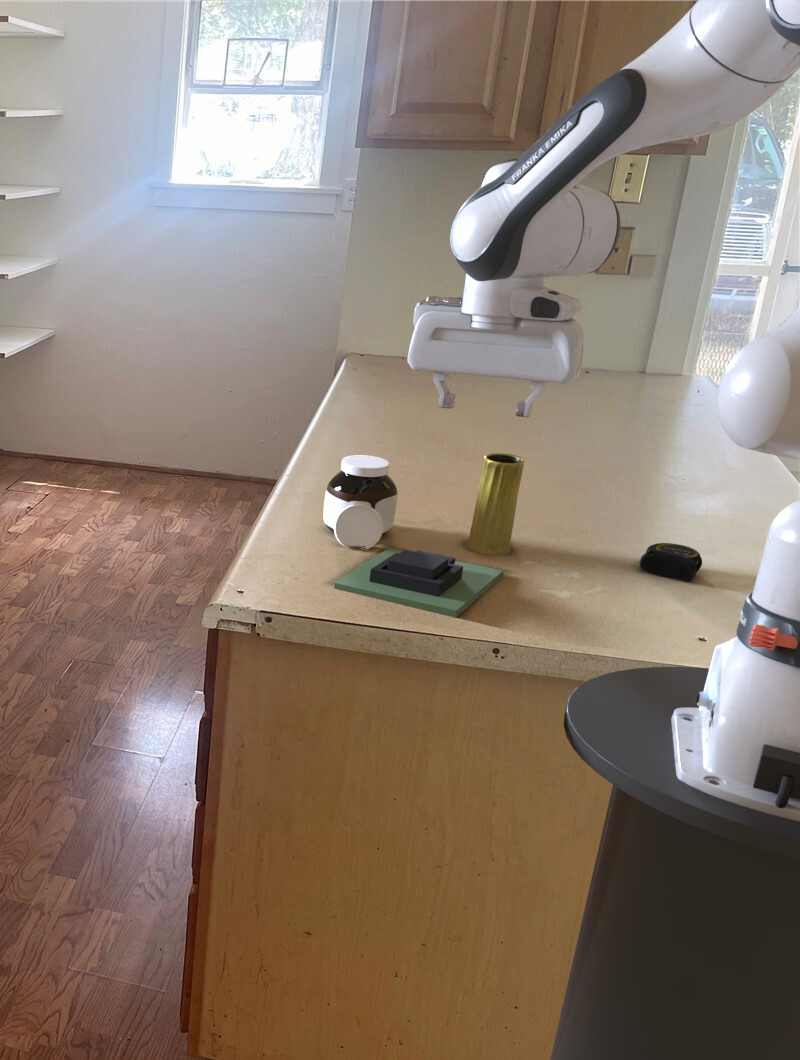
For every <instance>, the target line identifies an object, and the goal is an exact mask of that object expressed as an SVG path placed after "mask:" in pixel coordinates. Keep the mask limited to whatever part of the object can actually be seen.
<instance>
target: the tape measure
mask: <svg viewBox="0 0 800 1060" xmlns="http://www.w3.org/2000/svg"><path fill="white" fill-rule="evenodd" d="M702 565H703V559H702V556H701V554H700V552H698V551H697V549H694V548H693V547H690V546H687V545H683V544H678V543H671V542H659V543H658V542H657V543H654V544H651V545H649V546H648V547H647V548H646V550H645V553H644V554H642V555H641V557H640V560H639V568H640V569H641V570H642V571H643V572H645V573H649V574H652V575H656V576H660V577H664V578H668V579H674V580H678V581H683V582H686V583H687V582H688V583H691V582H692V581H693V579H694V577H695V576H697V573H698V572H699V570H700V569H701V568H702Z"/></svg>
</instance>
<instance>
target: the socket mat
mask: <svg viewBox="0 0 800 1060" xmlns="http://www.w3.org/2000/svg"><path fill="white" fill-rule="evenodd" d="M404 550H405V549H399V548H394V547H388V548H387V549H385V550H384V551H382V552H381V553H379V554H377V555H376V556H374V557H372V558H371V559H370V560H368V561H367V562H365V563H364V564H361V565H360V566H358V567H357V568H355V569H354V570H352V571H351V572H349V573H347V574H346V575H345V576H343V577H341V578H340V579H339V580H336V581H335V582H334V585H333V590H338V591H341V592H346V593H351V594H355V595H359V596H363V597H366V598H371V599H375V600H380V601H384V602H388V603H392V604H396V605H401V606H405V607H409V608H414V609H418V610H422V611H424V612H425V611H426V612H430V613H435V614H438V615H442V616H447V617H450V618H457V617H458V616H459V615H460V614H462V613H463V612H464V611H465V610H466V609H467V608H469V607H470V606H471V605H472V604H474V602H475V601H477V600H478V599H479V598H481V596H482V595H484V594H485V593H486V592H487V591H488V590H489V589H490V588H492V587H493V586H494V585H495V584H497V582H499V580H500V579H502V578H503V576H504V572H505V571H504V570H503V569H499V568H493V567H488V566H484V565H478V564H473V563H468V562H464V561H458V560H456V557H453V556H448V555H443V554H438V553H433V552H428V551H424V550H417V551H415V552H418V553H423V554H428V555H433V556H438V557H443V558H448V559H449V561H448V567H447V572H446V573H444V574H443V575H442V576H441V577H439V578H438V579H437V580H431V579H426V578H422V577H417V576H412V575H408V574H403V573H398V572H394V571H389V570H387V566H388V560H390V559H391V558H393V557H394V556H396V555H397V554H399V553H400V552H402V551H404Z"/></svg>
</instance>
